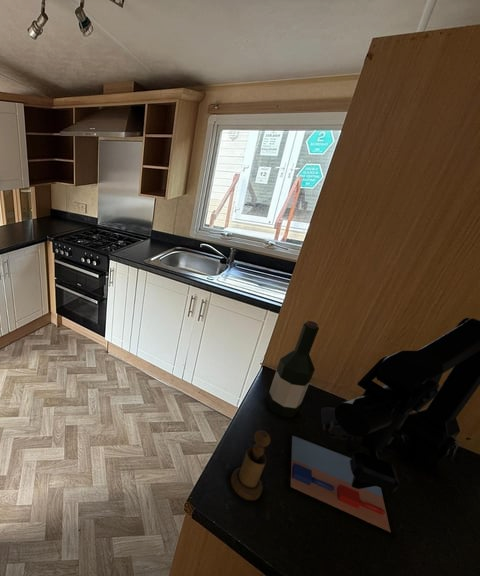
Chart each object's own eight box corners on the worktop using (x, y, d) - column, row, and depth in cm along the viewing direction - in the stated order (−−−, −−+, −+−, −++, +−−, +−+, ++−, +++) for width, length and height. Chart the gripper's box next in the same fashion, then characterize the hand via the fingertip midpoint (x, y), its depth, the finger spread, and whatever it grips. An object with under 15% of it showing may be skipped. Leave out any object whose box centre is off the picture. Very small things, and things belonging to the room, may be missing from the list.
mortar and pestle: (264, 504, 69) (286, 451, 61) (233, 498, 70) (251, 445, 62) (256, 475, 75) (275, 423, 67) (228, 470, 76) (243, 418, 68)
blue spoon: (332, 484, 72) (335, 480, 72) (333, 496, 70) (336, 491, 69) (292, 467, 76) (294, 462, 75) (291, 477, 74) (294, 473, 73)
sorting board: (375, 469, 76) (376, 468, 76) (389, 533, 64) (390, 532, 64) (291, 436, 85) (292, 435, 84) (289, 488, 72) (290, 486, 72)
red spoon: (382, 508, 68) (385, 503, 67) (384, 521, 66) (388, 516, 65) (336, 488, 72) (339, 483, 71) (337, 500, 69) (340, 495, 69)
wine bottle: (297, 404, 95) (331, 320, 82) (296, 423, 89) (332, 336, 75) (267, 393, 99) (294, 312, 86) (264, 410, 93) (292, 326, 79)
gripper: (327, 372, 70) (306, 421, 77) (336, 433, 56) (308, 487, 63) (391, 391, 65) (362, 441, 72) (418, 463, 51) (378, 518, 58)
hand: (351, 468), depth 66 cm, fingers open, 9 cm apart
